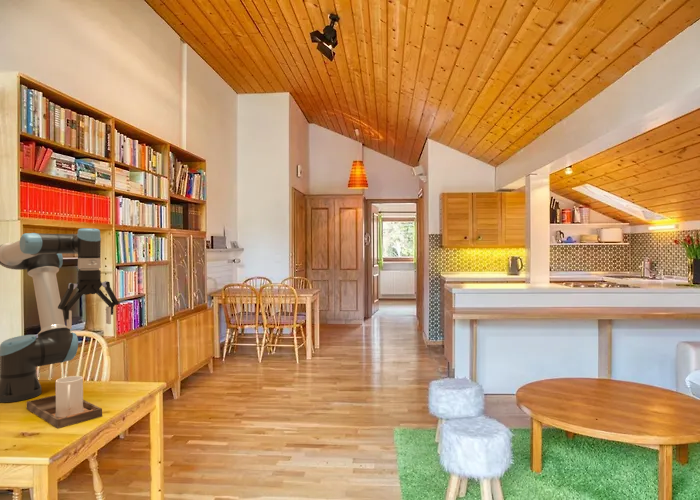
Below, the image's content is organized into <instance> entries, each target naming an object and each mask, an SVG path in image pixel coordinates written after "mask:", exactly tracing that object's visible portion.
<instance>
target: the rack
mask: <svg viewBox="0 0 700 500" xmlns="http://www.w3.org/2000/svg"><path fill="white" fill-rule="evenodd" d="M83 409H84V412H81V413H77V414H73V415H69V416H66V417H65V418H57V417H55V413H56V394H55V395H50V396H46V397H42V398H37V399H33V400H29V401H26V410H28V411H30V412H31V413H32V414H34V415H35V416H37V417H39V418H40V419H42V420H44V421H45V422H47V423H49V424H50V425H52V426H54V428H56V429H60V428H64V427H68V426H72V425H75V424H79V423H82V422H86V421H87V422H88V421H90V420H93V419H97V418H101V417H103V408H102V407H99V406H97V405H95V404H93V403H91V402H88V401H87V400H85V399H83Z"/></svg>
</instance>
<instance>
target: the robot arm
mask: <svg viewBox="0 0 700 500" xmlns="http://www.w3.org/2000/svg"><path fill="white" fill-rule="evenodd" d="M101 241H102V238H101V230H100V229H99V228H89V227H88V228H86V227H85V228H84V227H83V228H78V229H77V233H38V232H37V233H36V232H31V233H30V232H28V233H26V232H25V233H23V234H21V237H20V239H19V240H18V241H15V242H11V241H10V242H5V243H3V244H0V265H1V266H2V267H4V268H6V269H9V270H10V269H11V270H17V271H18V270H19V271H20V270H22V271H23V270H26V273H27V275H28V276H29V277H31V278H32V281H33V288H34V294H35V300H36V305H37V312H38V313H37V314H38V318H39V324H40V331H39V332H38V333H37V336H36V335H35V334H25V335H18V336H14V337H11V338H8V339H5V340H3V341H2V342H1V343H0V403H12V402H21V401H26V400H30V399H33V398H36V397H38V396H40V395H42V385H41V383H40V380H39V378H38V376H37V368H38V367H42V366H48V365H54V364H62V363H65V362H69V361H72V360H73V359H75V357H76V356H77V352H78V348H79V338H78V335H77V333H76V332H73V331H72V332H71V330H72V325H73V321H72V317H73V315H72V314H73V311H72V309H71V308H72V307H73V306H74V305H75V304H76V302H78V300H79V299H81V297H82V296H83V295H87V296H88V295H95V294H96V295H97V296H99V298H100V299H101V300H102V301H103V302H104V303H105V304H106V305H107V306H106V307H105V324H108V325H111V324H112V315H114V307H115V306H116V305H119V301H118V299H117V297H116V295H115V292H113V290H112V288H111V282H110V281H108V280H105V281H103V282H102V281H101V277H102V275H101V274H102V273H101V270H100V269H101V265H102V264H101V263H102V262H101V257H102V256H101V246H102V244H101V243H102V242H101ZM63 254H66V255H68V254H71V255H73V254H75V255H77V283H72V282H68V284H67V289H66V291H65V293H64V294H63V297H62V298H61V296H60V290H59V284H58V279H57V274H58V272H59V271H60V268H62V266H63V259H64V256H63ZM101 287H103V288H104V289H105V291H106V293H107V295H108V296H107V295H105V294H104V292H103V291H102V290H101ZM76 288H77V289H78V290H77V291H76V292H75V294H74V295H73V297H72V298H71V299H70V297H71V295H72V294H73V292H74V290H75V289H76ZM70 309H71V310H70ZM65 320H66V323H65Z"/></svg>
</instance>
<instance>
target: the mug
mask: <svg viewBox="0 0 700 500" xmlns="http://www.w3.org/2000/svg"><path fill="white" fill-rule="evenodd" d="M55 395H56V413H55V417H57V418H65V417H66V416H69V415H73V414H77V413H81V412H84V409H83V400H84V378H83V376H82V375H69V376H65V377H60V378H57V379H56V380H55Z"/></svg>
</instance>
